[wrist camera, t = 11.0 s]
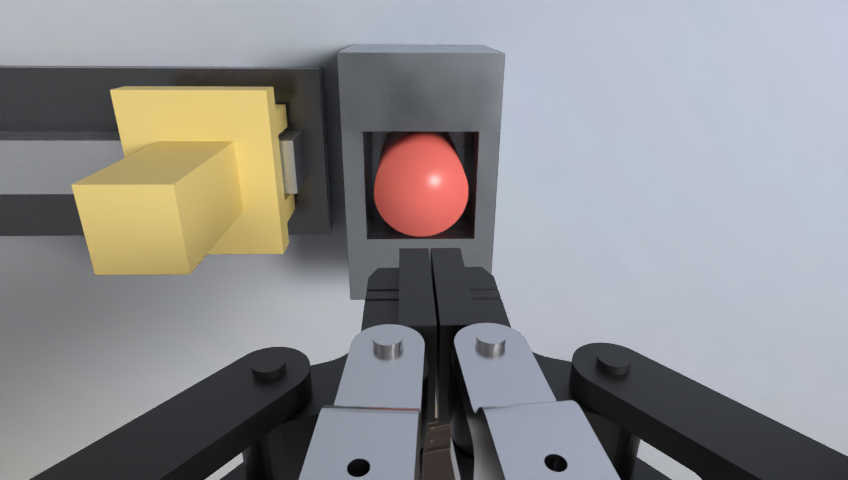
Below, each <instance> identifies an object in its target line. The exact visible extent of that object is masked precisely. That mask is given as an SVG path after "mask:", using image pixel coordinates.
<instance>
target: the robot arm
mask: <svg viewBox="0 0 848 480" xmlns="http://www.w3.org/2000/svg"><path fill="white" fill-rule="evenodd" d="M435 393H436V402H437V414H438V422H450V428H451V443H450V454H451V460H452V465H453V470H454V475H455V480H671V479H670V478H668V477H667V476H665V475H664V474H662V473H661V472H659V471H657V470H656V469H654V468H653V467H651V466H650V465H648V464H647V463H645V462H644V461H642V460H640V459H639V458H637V452H638V448H639V443H640V439H642V440H643V441H645V442H646V443H648V444H650V445H651V446H653V447H655V448H656V449H658V450H659V451H661V452H663V453H664V454H666V455H668V456H669V457H671V458H672V459H674V460H676V461H677V462H679V463H681V464H682V465H684V466H685V467H687V468H689V469H690V470H692V471H693V472H695V473H696V474H697V475H698V476H699V477H700V478H701V479H702V480H848V456H846V455H843V454H841V453H839V452H837V451H835V450H833V449H831V448H829V447H827V446H825V445H823V444H821V443H819V442H817V441H815V440H813V439H811V438H809V437H807V436H805V435H803V434H801V433H799V432H797V431H795V430H793V429H791V428H789V427H787V426H785V425H783V424H781V423H779V422H777V421H775V420H773V419H771V418H769V417H767V416H765V415H763V414H761V413H758V412H756V411H754V410H752V409H750V408H748V407H746V406H744V405H742V404H740V403H738V402H736V401H734V400H732V399H730V398H728V397H726V396H724V395H722V394H720V393H718V392H716V391H714V390H712V389H710V388H708V387H706V386H704V385H702V384H700V383H698V382H696V381H694V380H692V379H690V378H688V377H686V376H684V375H682V374H680V373H678V372H676V371H674V370H671V369H669V368H667V367H665V366H663V365H661V364H659V363H657V362H655V361H653V360H651V359H649V358H647V357H645V356H643V355H641V354H639V353H637V352H635V351H633V350H631V349H628V348H626V347H623V346H620V345H615V344H610V343H592V344H587V345H584V346H582V347H580V348H578V349H577V350H576V351H575V353H574V354H573V358H572V362H569V361H564V360H558V359H553V358H548V357H544V356H541V355H538V354H536V353H534V352H532V351H531V349H530V347H529V345H528V343H527V341H526V339H525V338H524V337H523V336H522V335H521V334H520V333H519V332H518V331H516V330H514V329H512V328H511V326H510V323H509V320H508V317H507V315H506V312H505V309H504V306H503V303H502V300H501V297H500V294H499V291H498V290H497V285H496V282H495V279H494V276H492V275H491V274H490V273H489V272H488V271H486V270H485V269H484V268H483V267H465V266H464V262H463V258H462V253H461V249H460V248H431V250H430V257H429V249H428V248H399V268H377V269H376V270H375V271H374V272H373V273H372V274H371V275H370V277H369V278H368V283H367V292H366V298H365V306H364V313H363V321H362V329H361V332H360V333H359V334H357V335H356V336H355V338H354V339H353V341H352V343H351V346H350V350H349V353H347V354H346V355H344V356H342V357H340V358H338V359H335V360H332V361H329V362H325V363H321V364H316V365H312V366H310V362H309V360H308V358H307V356H306V355H305V354H303V353H302V352H300V351H298V350H296V349H292V348H287V347H270V348H265V349H261V350H257V351H254V352H252V353H249V354H247V355H246V356H244V357H242V358H240V359H238V360H237V361H235V362H233V363H231V364H230V365H228V366H226V367H225V368H223V369H221V370H219V371H218V372H216V373H214V374H212V375H211V376H209V377H207V378H205V379H204V380H202V381H200V382H198V383H197V384H195V385H193V386H191V387H190V388H188V389H186V390H185V391H183V392H181V393H179V394H178V395H176V396H174V397H172V398H171V399H169V400H167V401H165V402H164V403H162V404H160V405H158V406H157V407H155V408H153V409H151V410H150V411H148V412H146V413H145V414H143V415H141V416H139V417H138V418H136V419H134V420H132V421H131V422H129V423H127V424H125V425H124V426H122V427H120V428H118V429H117V430H115V431H113V432H111V433H110V434H108V435H106V436H105V437H103V438H101V439H99V440H98V441H96V442H94V443H92V444H91V445H89V446H87V447H85V448H84V449H82V450H80V451H78V452H77V453H75V454H73V455H71V456H70V457H68V458H66V459H65V460H63V461H61V462H59V463H58V464H56V465H54V466H52V467H51V468H49V469H47V470H45V471H44V472H42V473H40V474H38V475H37V476H35V477H33V478H31V479H30V480H204V479H206V478H207V477H209V476H210V475H211V474H213V473H214V472H215V471H217V470H218V469H219V468H221V467H222V466H224V465H225V464H226V463H228V462H229V461H230V460H232V459H233V458H234V457H236V456H237V455H239V454H240V453H241V452H242V455H243V461H244V462H243V463H241V464H240V465H239V466H237V467H236V468H235V469H233V470H232V471H231V472H229V473H228V474H227V475H225V476H224V477H223V478H221V479H220V480H423V462H424V444H425V443H426V440H427V423H431V422H435Z"/></svg>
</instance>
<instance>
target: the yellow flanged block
mask: <svg viewBox="0 0 848 480" xmlns="http://www.w3.org/2000/svg"><path fill="white" fill-rule="evenodd" d="M110 93H111V98H112V102H113V107H114V111H115V116H116V121H117V125H118V130H119V134H120V139H121V143H122V148H123V153H124V157H125V158H124V159H122V160H120V161H118V162H116V163H114V164H112V165H110V166H108V167H106V168H104V169H102V170H100V171H98V172H96V173H94V174H92V175H90V176H88V177H86V178H84V179H82V180H80V181H78V182H76V183H74V184H72V185H71V186H72V189H73V193H74V197H75V201H76V205H77V208H78V212H79V216H80V220H81V224H82V227H83V231H84V235H85V239H86V242H87V246H88V250H89V254H90V258H91V261H92V265H93V269H94V273H95V275H166V274H191V273H192V271H193V270H194V269H195V268H196V267H197V266H198V264H199V263H200V262H201V261H202V260H203V258H204V257H205V256H206V255H207V254H284V252H285V250H286V248H287V246H288V244H289V237H288V227H287V222H288V220H289V219H290V217H291V215H292V214H293V212H294V210H295V201H294V194H284V187H283V178H282V168H281V158H280V148H279V138H278V135H279V134H280V133H281V132H282V131H283V130H285V129H286V128H287V127H288V126H287V115H286V105H285V104H275V98H274V89H273V87H224V86H124V87H120V88H115V89H111V90H110Z"/></svg>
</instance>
